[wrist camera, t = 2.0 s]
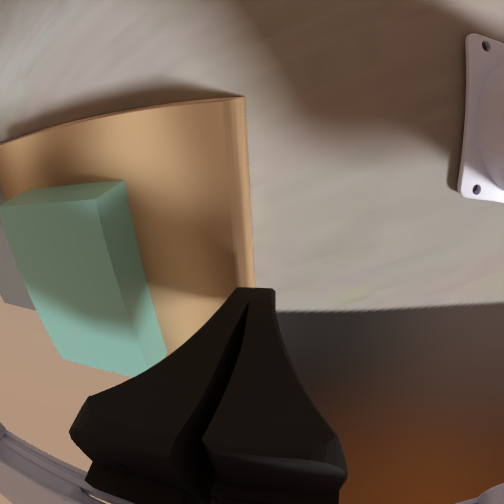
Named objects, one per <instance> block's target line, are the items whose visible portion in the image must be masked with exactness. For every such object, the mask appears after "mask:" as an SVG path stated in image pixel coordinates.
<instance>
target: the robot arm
mask: <svg viewBox="0 0 504 504" xmlns="http://www.w3.org/2000/svg"><path fill="white" fill-rule="evenodd" d="M482 42H484V43H485V45H486V47H487V50H486V51H485V50H484V49H483V48H482ZM465 45H466V106H465V123H464V135H463V146H462V155H461V163H460V170H459V177H458V184H457V189H458V192H459V193H460V194H461V195H462V196H463V197H465V198H470V199H478V200H486V201H494V202H501V203H504V43H502V42H499V41H496V40H494V39H491V38H488V37H485V36H482V35H479V34H474V33H473V34H469V35H467V37H466V40H465ZM475 185H477V190H476V191H475V192H473V191H472V189H473V186H475ZM69 434H70V436H71V439H72V440H73V441H74V443H76V445H77V446H78V447H79V448H80V449H81V450H82V451H83V452H84V453H85V454H86V455H87V456H88V457H89V458H90V459H91V460H92V461H93V462H92V464H91V467H90V469H89V471H88V472H86V471H83V470H81V469H79V468H76V467H74V466H72V465H70V464H68V463H66V462H64V461H61V460H59V459H57V458H55V457H53V456H51V455H49V454H48V453H46V452H44V451H42V450H40V449H38V448H36V447H35V446H33V445H31V444H29V443H27V442H26V441H24V440H22V439H20V438H19V437H17V436H16V435H14V434H12V433H11V432H9V431H7V430H6V428H5V427H4V426H3V425H2V424H1V423H0V494H2V495H3V496H4V497H5V498H7V499H8V500H9V501H10V502H12V503H13V504H105V503H103V502H101V501H99V500H97V499H95V498H93V497H91V496H89V494H90V495H92V496H94V497H96V498H99V499H101V500H104V501H106V502H109V503H111V504H338V502H339V490H340V489H341V487H342V486H343V484H344V483H345V481H346V479H347V465H346V460H345V456H344V453H343V450H342V447H341V444H340V441H339V438H338V436H337V434H336V433H335V431H334V430H333V429H332V428H331V426H330V425H329V424H328V422H327V421H326V420H325V418H324V417H323V416H322V414H321V413H320V411H319V410H318V409H317V407H316V406H315V404H314V403H313V401H312V399H311V398H310V396H309V394H308V393H307V391H306V389H305V388H304V386H303V384H302V382H301V381H300V379H299V377H298V375H297V373H296V371H295V369H294V366H293V364H292V362H291V360H290V357H289V356H288V352H287V350H286V347H285V344H284V342H283V339H282V335H281V332H280V328H279V325H278V321H277V316H276V310H275V291H274V290H273V289H271V288H251V287H237V288H236V289H235V290H234V291H233V292H232V293H231V295H230V296H229V297H228V298H227V300H226V301H225V302H224V303H223V304H222V305H221V307H220V308H219V309H218V310H217V311H216V312H215V313H214V314H213V315H212V317H211V318H210V319H209V320H208V321H207V322H206V323H205V324H204V325H203V326H202V327H201V328H200V329H199V330H198V331H197V332H196V333H195V334H194V335H193V336H191V337H190V338H189V339H188V340H187V341H186V342H185V343H184V344H182V345H181V346H180V347H179V348H178V349H176V350H175V351H174V352H172V353H171V354H170V355H168V356H167V357H166V358H164V359H163V360H161V361H160V362H158V363H157V364H155V365H154V366H152V367H150V368H149V369H147V370H146V371H144V372H142V373H140V374H139V375H137V376H135V377H133V378H131V379H129V380H127V381H125V382H123V383H121V384H119V385H117V386H115V387H112V388H110V389H107V390H105V391H102V392H100V393H98V394H95V395H92V396H89V397H88V398H87V400H86V401H85V403H84V404H83V406H82V407H81V410H80V411H79V413H78V415H77V417H76V419H75V421H74V423H73V424H72V426H71V428H70V430H69ZM456 504H504V483H503V484H500V485H498V486H495V487H493V488H491V489H489V490H487V491H486V492H484V493H482V494H481V495H480V496H479V497H478V498H475V499H471V500H467V501H464V502H460V503H456Z"/></svg>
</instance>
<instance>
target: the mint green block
mask: <svg viewBox="0 0 504 504" xmlns="http://www.w3.org/2000/svg"><path fill="white" fill-rule="evenodd" d="M0 219H1V223H2V226H3V229H4V232H5V235H6V238H7V241H8V243H9V246H10V249H11V252H12V254H13V257H14V260H15V262H16V265H17V267H18V270H19V272H20V275H21V277H22V280H23V282H24V284H25V287H26V289H27V291H28V293H29V296H30V298H31V300H32V302H33V304H34V306H35V308H36V311H37V313H38V315H39V317H40V319H41V321H42V323H43V325H44V327H45V329H46V330H47V332H48V334H49V336H50V338H51V340H52V341H53V344H54V345H55V347H56V349H57V351H58V353H59V354H60V356H61V358H62V359H65V360H69V361H72V362H76V363H79V364H83V365H86V366H90V367H94V368H97V369H101V370H105V371H109V372H113V373H117V374H122V375H126V376H130V377H135V376H137V375H139V374H140V373H142V372H144V371H146V370H147V369H149V368H150V367H152V366H154V365H155V364H157V363H158V362H160V361H161V360H163V359H164V358H165V356H166V354H167V350H166V346H165V343H164V340H163V337H162V334H161V330H160V327H159V324H158V320H157V317H156V314H155V310H154V307H153V303H152V299H151V296H150V292H149V288H148V285H147V281H146V277H145V273H144V269H143V265H142V261H141V257H140V253H139V249H138V244H137V240H136V236H135V231H134V226H133V222H132V217H131V212H130V207H129V202H128V197H127V192H126V186H125V181H124V180H119V181H106V182H95V183H85V184H75V185H65V186H57V187H48V188H40V189H33V190H25V191H24V192H22V193H20V194H19V195H17V196H15V197H13V198H12V199H10V200H8V201H7V202H5V203H4V204H2V205H0Z"/></svg>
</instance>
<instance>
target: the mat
mask: <svg viewBox="0 0 504 504" xmlns="http://www.w3.org/2000/svg"><path fill="white" fill-rule="evenodd" d="M35 132H36V131H35ZM32 133H34V132H32ZM29 134H31V133H29ZM26 135H28V134H26ZM23 136H25V135H23ZM20 137H22V136H19V137H16V138H13V139H10V140H7V141H5V142H2V143H0V145H2V144H4V143H7V142H9V141H12V140H14V139H17V138H20ZM5 202H6V200H5V197H4V193H3V189H2V185H1V181H0V205H2V204H4V203H5ZM0 294H1V296H2V298H3V301H4V302H5V303H8V304H12V305H16V306H20V307H24V308H28V309H32V310H36V308H35V306H34V304H33V302H32V300H31V298H30V296H29V293H28V291H27V289H26V287H25V284H24V282H23V280H22V277H21V275H20V272H19V270H18V267H17V265H16V262H15V260H14V257H13V254H12V252H11V249H10V246H9V243H8V241H7V238H6V235H5V232H4V229H3V226H2V223H1V219H0Z"/></svg>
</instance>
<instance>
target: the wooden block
mask: <svg viewBox="0 0 504 504" xmlns="http://www.w3.org/2000/svg"><path fill="white" fill-rule="evenodd" d="M119 180H124V181H125V186H126V192H127V197H128V202H129V207H130V212H131V217H132V222H133V226H134V231H135V236H136V240H137V244H138V249H139V253H140V257H141V261H142V265H143V269H144V273H145V277H146V281H147V285H148V288H149V292H150V296H151V299H152V303H153V307H154V310H155V314H156V317H157V320H158V324H159V327H160V330H161V334H162V337H163V340H164V343H165V346H166V350H167V354H166V356H165V358H166V357H167V356H168V355H170V354H171V353H172V352H174V351H175V350H176V349H178V348H179V347H180V346H181V345H182V344H184V343H185V342H186V341H187V340H188V339H189V338H190V337H191V336H193V335H194V334H195V333H196V332H197V331H198V330H199V329H200V328H201V327H202V326H203V325H204V324H205V323H206V322H207V321H208V320H209V319H210V318H211V317H212V315H213V314H214V313H215V312H216V311H217V310H218V309H219V308H220V307H221V305H222V304H223V303H224V302H225V301H226V300H227V298H228V297H229V296H230V295H231V293H232V292H233V291H234V290H235V289H236V288H237V287H251V288H255V279H254V260H253V240H252V221H251V202H250V183H249V164H248V146H247V127H246V108H245V97H228V98H215V99H203V100H193V101H184V102H175V103H167V104H160V105H153V106H147V107H140V108H134V109H129V110H123V111H118V112H113V113H108V114H103V115H98V116H93V117H89V118H85V119H80V120H76V121H72V122H68V123H64V124H60V125H57V126H53V127H49V128H46V129H42V130H39V131H36V132H34V133H31V134H28V135H25V136H22V137H20V138H17V139H14V140H12V141H9V142H7V143H4V144H2V145H0V181H1V185H2V189H3V193H4V197H5V200H6V202H7V201H8V200H10V199H12V198H13V197H15V196H17V195H19V194H20V193H22V192H24V191H25V190H33V189H40V188H48V187H57V186H65V185H75V184H85V183H95V182H106V181H119Z"/></svg>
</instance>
